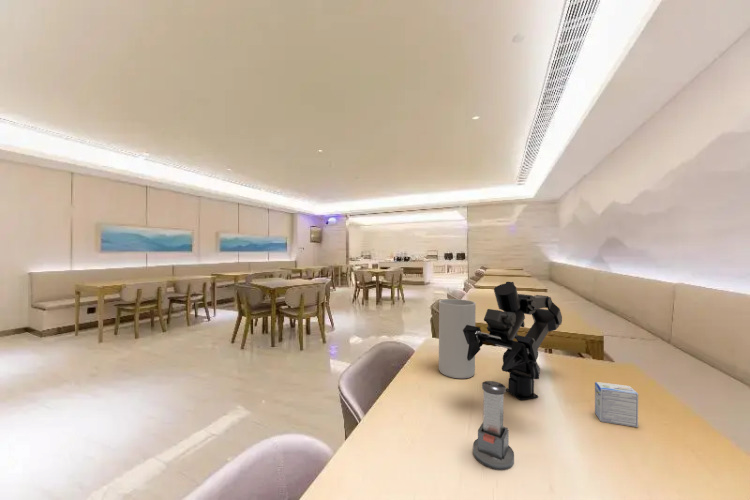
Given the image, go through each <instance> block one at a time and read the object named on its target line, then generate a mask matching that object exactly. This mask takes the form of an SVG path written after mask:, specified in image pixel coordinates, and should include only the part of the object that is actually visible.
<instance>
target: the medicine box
mask: <svg viewBox="0 0 750 500" xmlns="http://www.w3.org/2000/svg"><path fill="white" fill-rule="evenodd" d="M594 413H595V416H596V417H597V418H598V419H599V421H600V422H602V423H608V424H614V425H621V426H628V427H635V428H639V393H638V392H637V391H636V390H635V389H633V387H631V386H630V385H626V384H625V385H623V384H618V383H617V384H616V383H608V382H601V381H599V382H598V381H595V382H594Z"/></svg>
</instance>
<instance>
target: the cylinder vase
mask: <svg viewBox="0 0 750 500" xmlns="http://www.w3.org/2000/svg"><path fill="white" fill-rule="evenodd" d="M438 303H439V306H438V309H439V310H438V311H439V312H438V370H439V372H440V373H441V374H442V375H444V376H446V377H447V378H453V379H469V378H471V377H473V376H475V373H476V355H475V356H474V357H473V358H472V359H471V360H470V361H468V359H467V354H468V348H469V344H467V341H466V338H465V335H464V332H463V329H464V328H465V326H466V325H471V326H475V327H476V307H477V306H476V305H477V303H476V302H475V301H474V300H473V301H472V300H467V299H459V298H458V299H457V298H455V299H454V298H450V299H448V298H447V299H439V302H438Z"/></svg>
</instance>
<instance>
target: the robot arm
mask: <svg viewBox="0 0 750 500" xmlns="http://www.w3.org/2000/svg"><path fill="white" fill-rule="evenodd" d="M493 292H494V296H495V300H496V303H497V307H498V309H499V310H498V309H491V308H487V309H486V312H485V315H484V318H483V321H484V322H485V323H486V324H487V327H486V329H487V332H489V333H487V332H482V330H481V327H479V326H476V325H475V326H471V325H466V326H465V328H464V329H463V332H464V335H465V338H466V341H467V344H469V348H468V354H467V359H468V361H470V360H471V359H472V358H473V357H474V356H475V357H476V355H477V354H478V353H479V352H480V351H481V347H482V346H483V345H484V342H485V343H490V344H493V345H494V346H496V347H501V348H505V349H506V350H505V351H504V353H503V355H502V366H501V370H502V372H506V373H509V378H508V388H506V392H507V393H509V394H510V395H512V396H513V397H515V398H517V399H518V400H520V401H525V400H531V399H536V398H537V399H538V398H539V395H538V394H536V393H535V380H540V374H541V368H540V365H539V364H538V362H537V360H538V357H539V351H538V349H539V348H540V346H541V344H542V343H543V341H544V340H545V338H546V336H547V335H548V334H549V332H554V331H556V330H558V328H559V327H560V326H561V325H562V322H563V315H562V312H561V309H560V307H558V306H557V305H556V304H555V303H554V302H553V300H552V297H551V296H549V295H540V294H539V295H538V294H536V295H535V294H534V295H531V294H523V293H518V290H517V287H516V286H515V283H514V281H505V283H502V284H499V285H497V286H495V287H494V288H493ZM526 315H529V316H530V315H531V316H532V320H533V324H532V325H531V326H530V328H529V330H528V331H527V333H526V334H525V335H524V336H523V335H519V334H518V332H519V330H520V329H521V328H524V327H525V325H526V323H525V319H526ZM514 339H516V340H514Z"/></svg>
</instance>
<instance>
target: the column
mask: <svg viewBox="0 0 750 500" xmlns="http://www.w3.org/2000/svg"><path fill="white" fill-rule="evenodd" d="M481 388H482V390H483V419H482V421H483V422H482V423H483V432H485V433H488V434H490V435H493V436H496V437H499V438H501V437H502V435H503V427H504V395H505V393H506V392H507V391H506V389H507V387H506V386H505V384H503V383H501V382H499V381H495V380H486V381H485V380H484V381H483V382H482V383H481Z"/></svg>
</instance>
